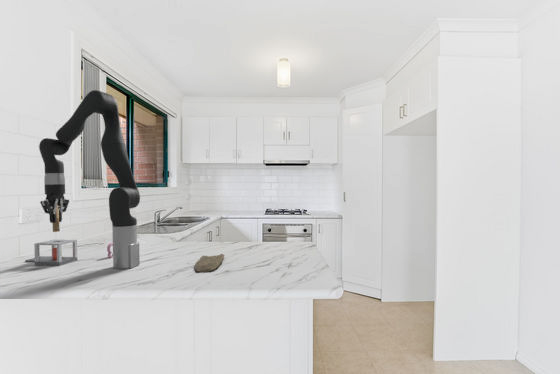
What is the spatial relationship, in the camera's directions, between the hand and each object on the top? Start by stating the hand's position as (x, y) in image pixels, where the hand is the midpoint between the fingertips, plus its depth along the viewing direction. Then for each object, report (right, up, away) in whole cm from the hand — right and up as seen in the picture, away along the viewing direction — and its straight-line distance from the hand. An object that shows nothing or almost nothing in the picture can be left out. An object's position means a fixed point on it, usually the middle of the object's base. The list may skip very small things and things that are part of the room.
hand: (56, 222), depth 143 cm
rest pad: (-11, -18, +6) cm, 22 cm away
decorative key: (+21, -18, +17) cm, 32 cm away
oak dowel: (0, -4, 0) cm, 4 cm away
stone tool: (+70, -18, -7) cm, 73 cm away
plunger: (0, -18, 0) cm, 18 cm away
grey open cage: (0, -18, 0) cm, 18 cm away
